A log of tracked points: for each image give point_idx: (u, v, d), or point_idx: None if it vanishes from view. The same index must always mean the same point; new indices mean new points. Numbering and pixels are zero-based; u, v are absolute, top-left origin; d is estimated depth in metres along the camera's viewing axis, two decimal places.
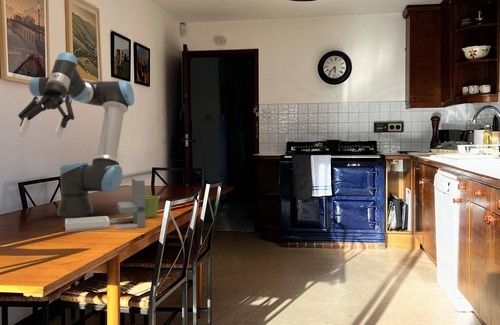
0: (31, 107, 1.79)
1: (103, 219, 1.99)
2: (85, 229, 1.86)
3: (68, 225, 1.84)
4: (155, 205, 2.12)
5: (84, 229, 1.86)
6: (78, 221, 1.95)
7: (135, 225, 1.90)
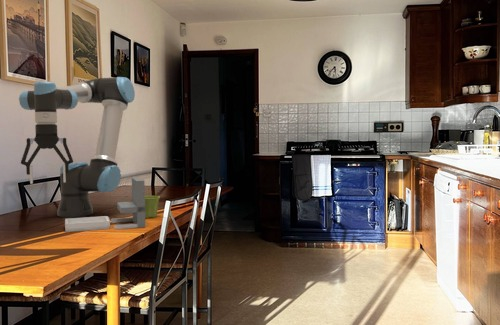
0: (28, 150, 1.83)
1: (103, 219, 1.99)
2: (85, 229, 1.86)
3: (68, 225, 1.84)
4: (155, 205, 2.12)
5: (84, 229, 1.86)
6: (78, 221, 1.95)
7: (135, 225, 1.90)
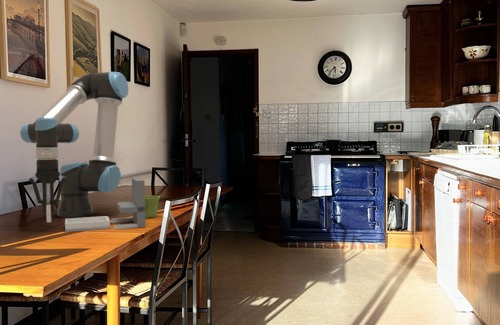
0: (37, 188, 1.84)
1: (103, 219, 1.99)
2: (85, 229, 1.86)
3: (68, 225, 1.84)
4: (155, 205, 2.12)
5: (84, 229, 1.86)
6: (78, 221, 1.95)
7: (135, 225, 1.90)
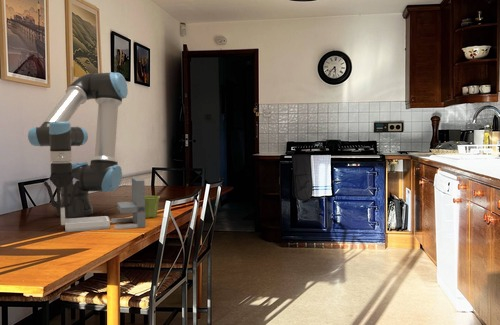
0: (51, 191, 1.86)
1: (103, 219, 1.99)
2: (85, 229, 1.86)
3: (68, 225, 1.84)
4: (155, 205, 2.12)
5: (84, 229, 1.86)
6: (78, 221, 1.95)
7: (135, 225, 1.90)
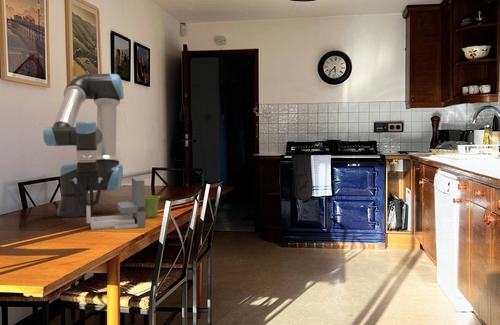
0: (77, 190, 1.89)
1: (127, 217, 2.01)
2: (110, 227, 1.89)
3: (94, 223, 1.87)
4: (155, 205, 2.12)
5: (109, 227, 1.89)
6: (103, 219, 1.98)
7: (135, 225, 1.90)
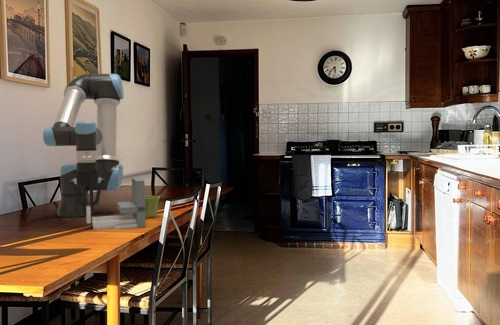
0: (77, 190, 1.89)
1: (129, 217, 2.02)
2: (113, 227, 1.89)
3: (96, 223, 1.87)
4: (155, 205, 2.12)
5: (112, 227, 1.89)
6: (104, 219, 1.99)
7: (135, 225, 1.90)
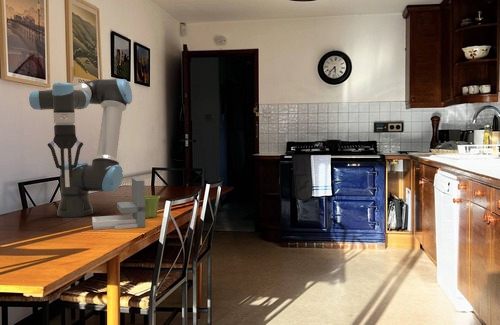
0: (55, 153, 1.86)
1: (129, 217, 2.02)
2: (113, 227, 1.89)
3: (96, 223, 1.87)
4: (155, 205, 2.12)
5: (112, 227, 1.89)
6: (104, 219, 1.99)
7: (135, 225, 1.90)
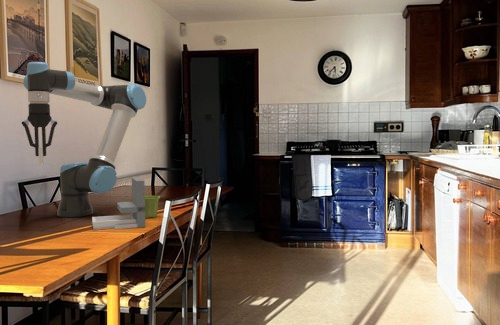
0: (29, 132, 1.89)
1: (129, 217, 2.02)
2: (113, 227, 1.89)
3: (96, 223, 1.87)
4: (155, 205, 2.12)
5: (112, 227, 1.89)
6: (104, 219, 1.99)
7: (135, 225, 1.90)
